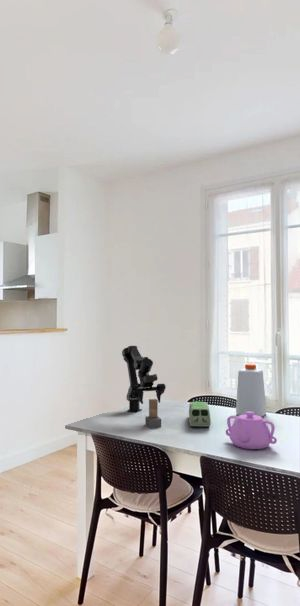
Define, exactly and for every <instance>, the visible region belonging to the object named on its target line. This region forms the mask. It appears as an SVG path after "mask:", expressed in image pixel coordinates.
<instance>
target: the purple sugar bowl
mask: <svg viewBox="0 0 300 606" xmlns="http://www.w3.org/2000/svg"><path fill="white" fill-rule="evenodd" d="M231 419H234V421H233V423H232V425H231ZM226 423H227V429H225V434H226V436H228V437H229V439H230V442H231V443H232V444H233V445H234V446H236V447H238V448H242V449H245V450H254V449H258V450H263V449H266V448H268V446H269V445H270V444H272V445H274V444H276V443H277V441H278V439H277V437H276V436H274V433H275V424H274V423H273V422H272V421H270V420H269V419H267V420H265V419H264V418H263V417H260V416H257V415H254V412H250V411H248V412H246V414H245V415H237V416H236V415H230V416H228V417H227V419H226ZM269 425H270V428H271V430H270V428H269Z"/></svg>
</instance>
